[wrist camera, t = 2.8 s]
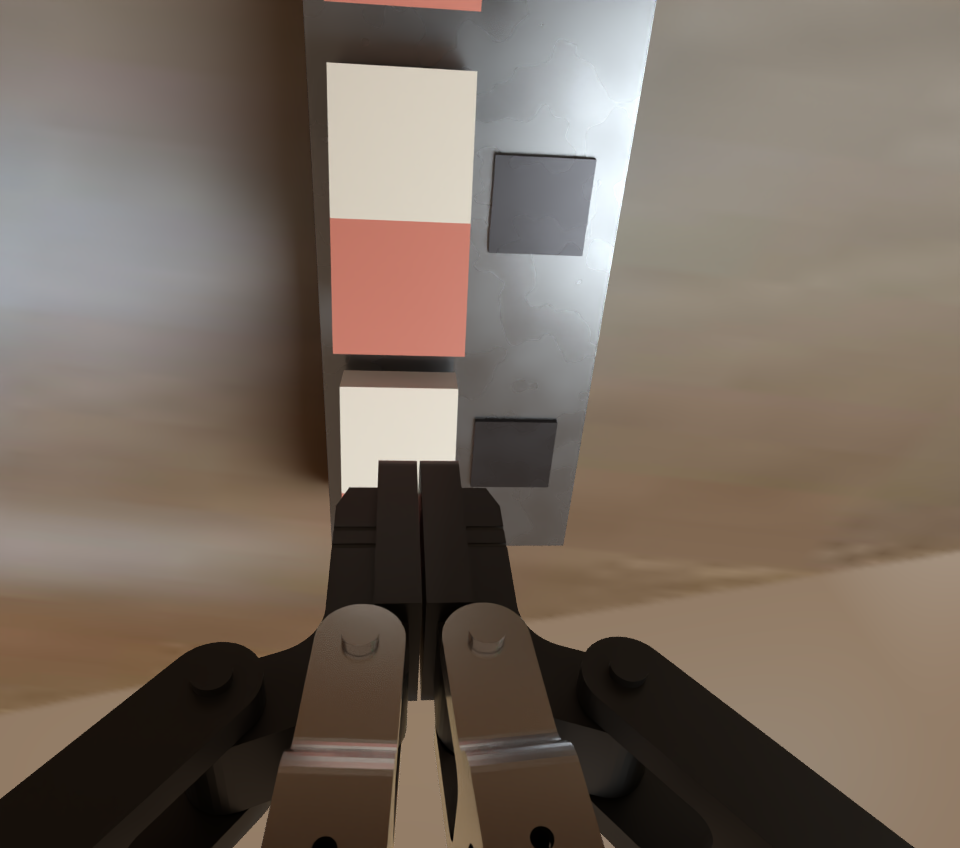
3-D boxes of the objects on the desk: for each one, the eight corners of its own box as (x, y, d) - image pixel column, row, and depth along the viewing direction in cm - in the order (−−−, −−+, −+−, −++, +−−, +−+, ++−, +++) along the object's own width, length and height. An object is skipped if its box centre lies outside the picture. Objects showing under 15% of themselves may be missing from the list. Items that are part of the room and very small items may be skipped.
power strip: (682, -397, 20) (737, -459, 17) (549, 488, 37) (563, 548, 34) (298, -445, 19) (273, -521, 16) (339, 486, 36) (331, 549, 33)
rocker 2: (455, 372, 28) (458, 388, 26) (447, 562, 31) (449, 587, 29) (343, 370, 27) (339, 386, 26) (347, 562, 30) (343, 588, 29)
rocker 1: (472, 74, 22) (477, 71, 21) (460, 340, 25) (464, 356, 24) (332, 66, 22) (326, 61, 20) (338, 337, 25) (332, 353, 23)
